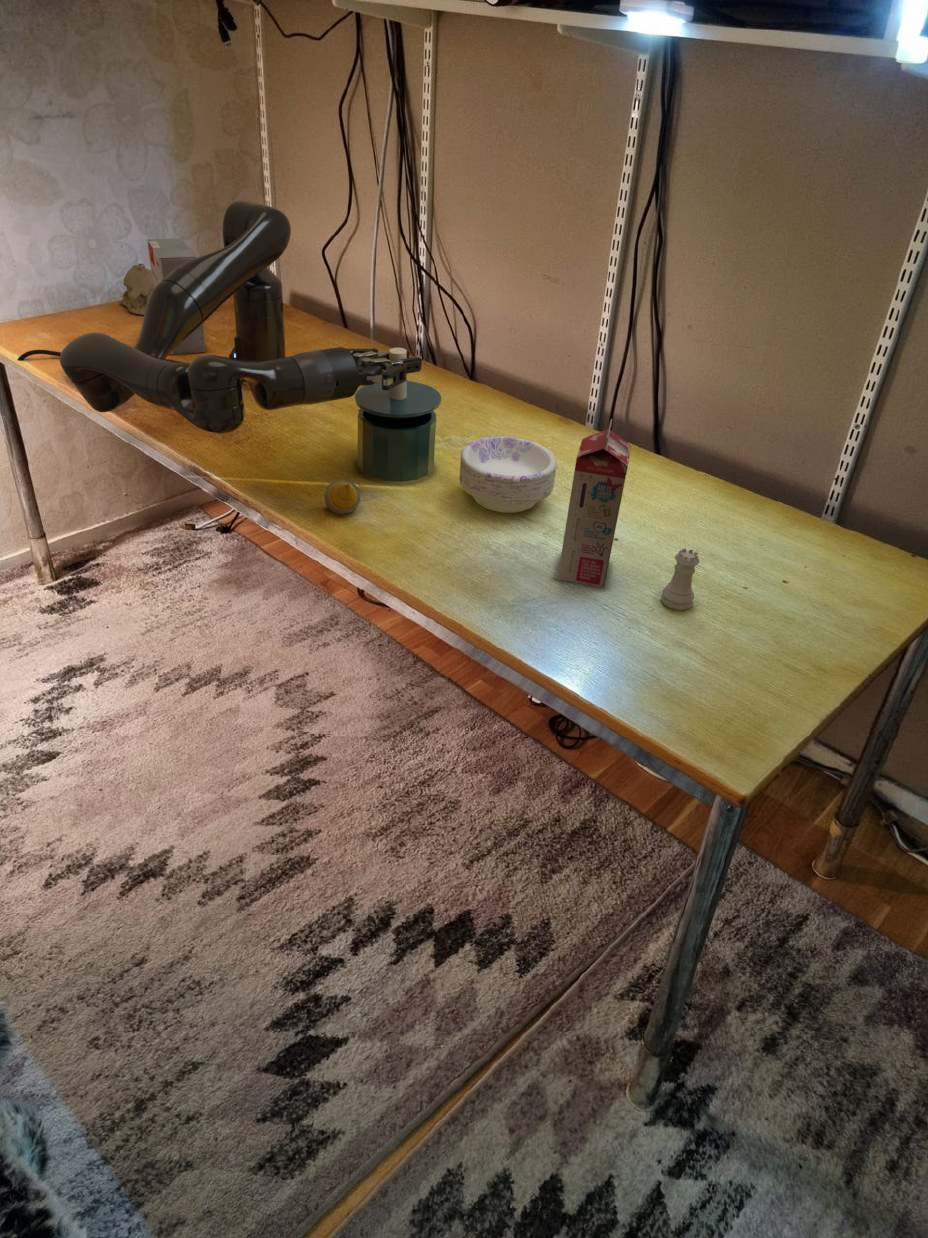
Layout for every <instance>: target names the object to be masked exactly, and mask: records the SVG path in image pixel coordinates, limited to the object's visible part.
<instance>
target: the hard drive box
mask: <svg viewBox="0 0 928 1238" xmlns="http://www.w3.org/2000/svg"><path fill="white" fill-rule="evenodd" d="M146 244H147V250H148V256H149V264H150V270H151V273H152V280H153V288H154V287H155V286H156V285H157V284H158V283H159V282H161V281H162V280H163V279H164V278H165V277H166V276H167V275H168V274H170V273H171V272H172V271H173V270H174V269H175V268H177V267H178V266H180V265H182V264H183V263H185V262H187V261H190V260H192V259H195V258H197V256H196V255H195V254H194V252H193V251H192V250H191V249H190V247H189V246H188V245H187V243H186V242H185V241H184V240H183V239H182V238H151V239H150V238H148V239H146ZM198 353H199V354H200V353H206V341H205V330H204V323H203V324H202V325H201V326H200V327H198V328H197V329H196V330H195V331H194V332H193V333H192V334H190V335H189V336H188V337H187V338H186V339H185V340H184V341H183V342H182V343H181V344H180V345H178V346H177V347H176V348H175V349H174V350H173V351H172V352H171V353H170V355H172V356H173V355H184V354H198Z"/></svg>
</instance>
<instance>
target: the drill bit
mask: <svg viewBox="0 0 928 1238" xmlns="http://www.w3.org/2000/svg"><path fill="white" fill-rule="evenodd" d="M323 496H324V502H325V505H326V507H327V508H328V509H329V511H331V512H333V514H337V515H340V516H345V515H349V514H352V513H353V512H354V511H355V510H356V509H357V507H358V506H359V504H360V502H361V501H360V500H361V494H360V489H358V487H357V485H356V484H355V483H354V482H353V481H350V480H348V479H342V478H340V479H335V480H333V481H331V482H330V483H329V484H328V485H327V487H326V489H325V491H324V495H323Z"/></svg>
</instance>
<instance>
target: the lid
mask: <svg viewBox="0 0 928 1238" xmlns="http://www.w3.org/2000/svg"><path fill="white" fill-rule="evenodd" d="M407 351H408V350H407V349H406V348H403V347H392V348H390V349H388V353H389V361H392V360H400V359H406V358H407ZM393 367H395V366H391V368H393ZM391 368H390V369H391ZM407 380H408V374H406V381H405V382H403V383H401V384H399V385H398V386H396V387H394V388H392V389H390V390H387V391H385V390H382V384H378V383H374V384H373V385H370V386H364V387H363V388H361V387H360V388H361V389H360V388H359V389H357V391H356V392H355V394H354V402H355V405H356V406H357V407H358V408H359V409H360V408H361V409H362V410H364V411H366V412H368V413H371V414H374V415H378V416H383V417H392V418H407V417H415V416H420V415H424V414H427V413H430V412H432V411H434V412H435V411H436V410H438V409H439V407H440V406H441V404H442V395H441V392H440V391H438V390H437V389H435V388H434V387H432V386H430V385H428V384H425V383H422V382H417V381H411V380H408V381H407Z"/></svg>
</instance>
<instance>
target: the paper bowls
mask: <svg viewBox="0 0 928 1238" xmlns="http://www.w3.org/2000/svg"><path fill="white" fill-rule="evenodd" d="M557 463H558V461H557V458H556V457H555V455H554V453H553V452H552V451H551V450H550V449H549V448H547V447H545V446H543V445H541V444H540V443H537V442H534V441H532V440H529V439H525V438H520V437H514V436H487V437H482V438H478V439H476V440H473V441H471V442H469V443H467V444H466V445H465V446H464V448H462V449H461V452H460V464H459V465H460V466H459V476H458V477H459V479H458V480H459V485H460V487H461V488H462V489H463V491H465V492H466V493H467V494H468V495H469V496H472V498H473V500H474V501H475V502H476V503H477V504H478V505H480V506H481V507H483V508H485V509H487V510H490V511H493V512H498V513H504V514H514V513H515V514H516V513H522V512H524V511H527V510H529V509H531V508H532V507H534V506H535V504H537V503H538V502H541V501H543V500H545V499H547V498H548V497H549V496H550V495H551V494H552V492H553V490H554V484H555V478H556V472H557V465H558V464H557Z"/></svg>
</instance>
